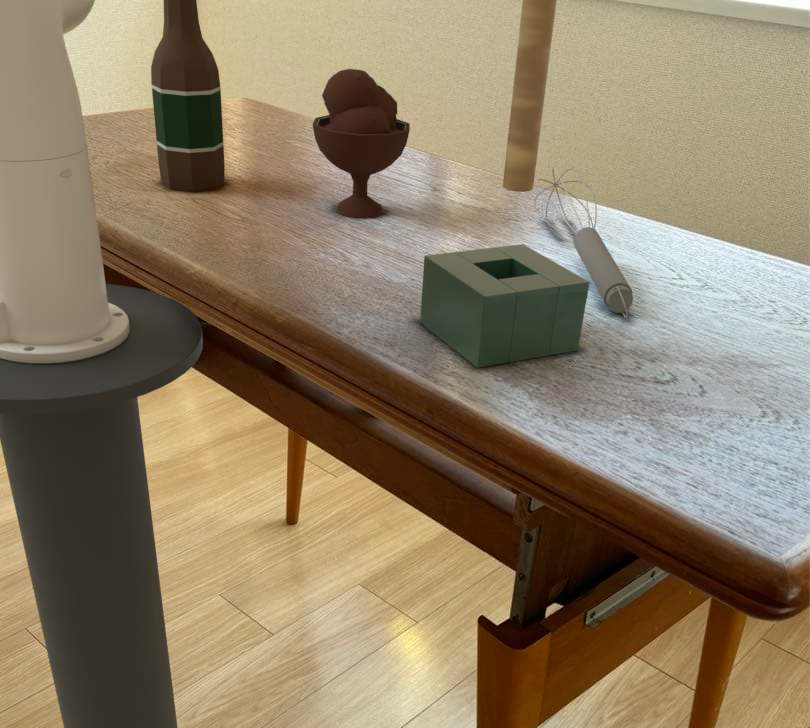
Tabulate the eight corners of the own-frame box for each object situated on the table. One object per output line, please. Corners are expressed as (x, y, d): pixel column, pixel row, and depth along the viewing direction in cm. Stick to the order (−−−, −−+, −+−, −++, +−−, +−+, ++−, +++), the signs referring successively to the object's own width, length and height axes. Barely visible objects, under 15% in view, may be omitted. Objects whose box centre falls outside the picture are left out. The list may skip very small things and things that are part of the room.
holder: (477, 368, 76) (485, 296, 72) (419, 322, 83) (424, 255, 79) (578, 350, 80) (590, 281, 76) (514, 308, 87) (523, 243, 83)
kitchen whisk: (591, 323, 85) (604, 254, 81) (525, 214, 112) (532, 159, 109) (657, 325, 85) (672, 256, 82) (575, 216, 113) (584, 161, 109)
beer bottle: (193, 171, 119) (177, -52, 105) (238, 184, 116) (228, -45, 102) (146, 183, 114) (123, -50, 100) (192, 196, 110) (175, -43, 96)
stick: (513, 193, 73) (549, -123, 61) (496, 184, 74) (528, -124, 63) (538, 190, 74) (578, -121, 62) (522, 182, 75) (558, -122, 64)
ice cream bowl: (389, 230, 104) (396, 81, 95) (297, 215, 106) (295, 69, 98) (418, 205, 112) (427, 67, 103) (332, 192, 115) (333, 56, 106)
